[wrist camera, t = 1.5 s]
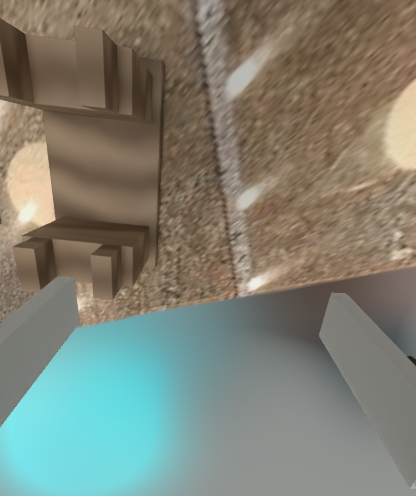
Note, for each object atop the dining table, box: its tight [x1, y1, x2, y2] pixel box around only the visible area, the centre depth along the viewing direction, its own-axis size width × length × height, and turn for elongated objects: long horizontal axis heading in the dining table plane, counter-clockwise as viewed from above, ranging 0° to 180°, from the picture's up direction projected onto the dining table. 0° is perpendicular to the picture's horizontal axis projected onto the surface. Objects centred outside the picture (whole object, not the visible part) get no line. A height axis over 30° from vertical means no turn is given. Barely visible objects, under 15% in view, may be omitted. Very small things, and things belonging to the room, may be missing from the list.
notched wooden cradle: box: [0, 18, 164, 300], centre depth 28 cm, size 26×14×12 cm, turn 174°
